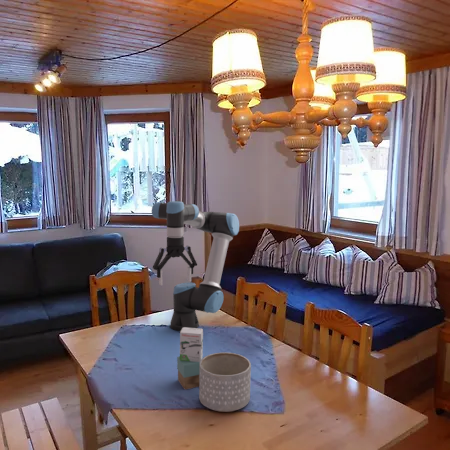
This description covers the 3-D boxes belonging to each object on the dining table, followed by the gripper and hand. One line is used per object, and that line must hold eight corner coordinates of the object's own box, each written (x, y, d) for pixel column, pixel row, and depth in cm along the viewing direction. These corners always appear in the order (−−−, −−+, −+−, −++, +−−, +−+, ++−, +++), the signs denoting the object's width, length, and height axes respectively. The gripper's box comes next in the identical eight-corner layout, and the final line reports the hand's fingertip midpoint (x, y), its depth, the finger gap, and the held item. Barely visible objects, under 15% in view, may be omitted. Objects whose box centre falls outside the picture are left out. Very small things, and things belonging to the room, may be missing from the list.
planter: (210, 383, 167) (210, 349, 165) (255, 392, 160) (256, 357, 158) (190, 408, 149) (190, 370, 147) (240, 420, 143) (241, 380, 141)
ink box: (179, 360, 164) (179, 331, 162) (181, 355, 169) (181, 327, 167) (201, 362, 163) (201, 333, 161) (203, 356, 168) (203, 328, 166)
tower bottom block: (196, 376, 172) (196, 364, 172) (204, 385, 165) (204, 373, 165) (178, 380, 169) (177, 368, 168) (184, 389, 162) (184, 377, 161)
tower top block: (195, 364, 172) (196, 353, 171) (203, 373, 165) (203, 361, 164) (177, 368, 168) (177, 356, 168) (183, 377, 161) (183, 365, 160)
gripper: (198, 233, 196) (197, 278, 199) (145, 236, 185) (145, 283, 188) (204, 236, 189) (204, 282, 192) (150, 239, 178) (150, 288, 181)
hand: (175, 283), depth 190 cm, fingers open, 13 cm apart
